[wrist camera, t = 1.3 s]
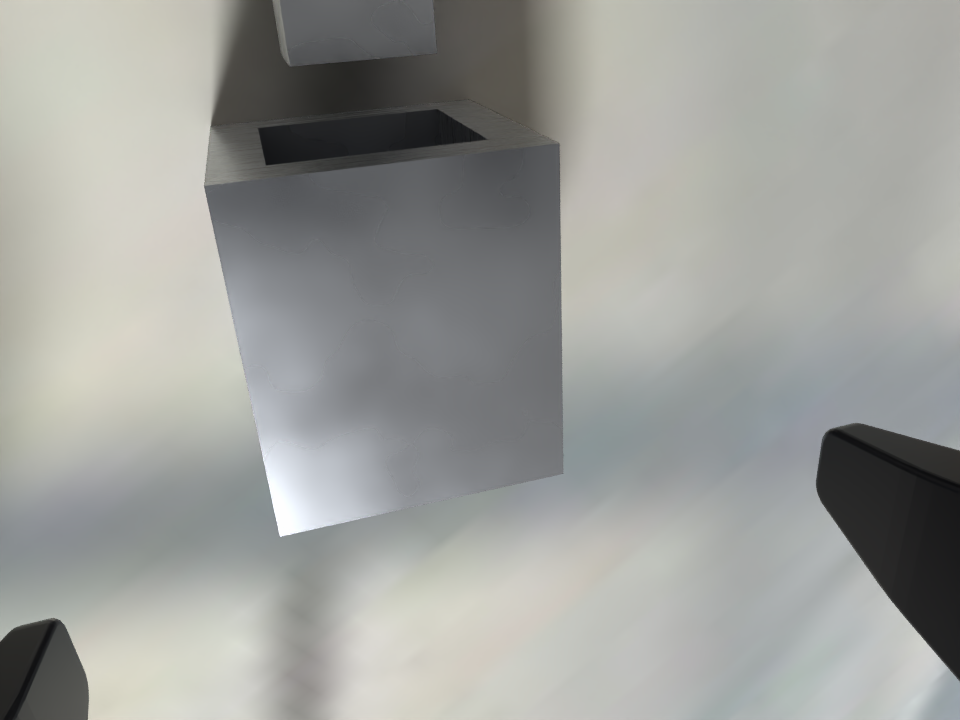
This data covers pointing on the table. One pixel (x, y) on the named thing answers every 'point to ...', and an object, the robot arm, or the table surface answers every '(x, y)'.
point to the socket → (393, 303)
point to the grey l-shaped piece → (353, 30)
